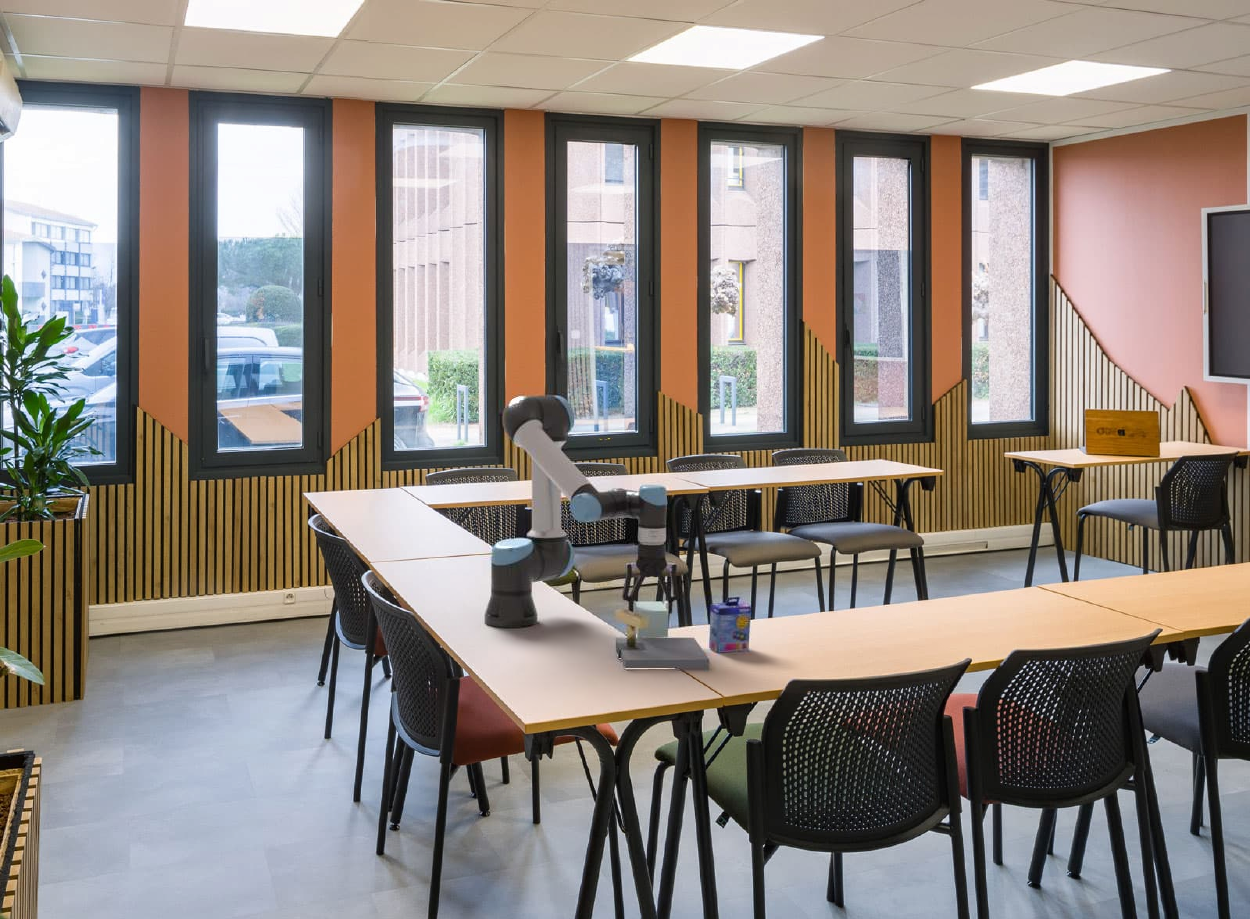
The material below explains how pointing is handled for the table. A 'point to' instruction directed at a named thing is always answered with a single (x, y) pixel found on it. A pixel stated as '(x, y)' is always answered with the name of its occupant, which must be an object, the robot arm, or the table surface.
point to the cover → (653, 619)
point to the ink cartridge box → (729, 626)
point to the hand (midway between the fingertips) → (649, 625)
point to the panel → (662, 653)
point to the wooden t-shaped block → (631, 623)
